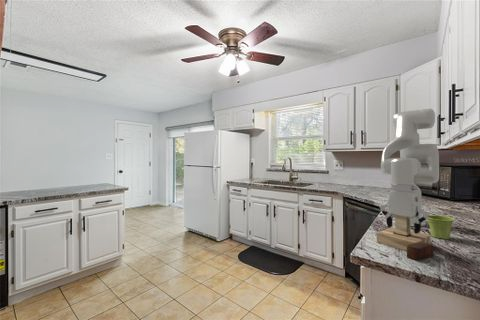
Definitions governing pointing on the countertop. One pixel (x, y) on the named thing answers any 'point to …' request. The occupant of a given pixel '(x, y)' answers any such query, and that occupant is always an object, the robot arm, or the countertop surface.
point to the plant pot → (440, 226)
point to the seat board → (400, 238)
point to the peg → (402, 226)
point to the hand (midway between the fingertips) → (402, 229)
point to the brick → (420, 251)
